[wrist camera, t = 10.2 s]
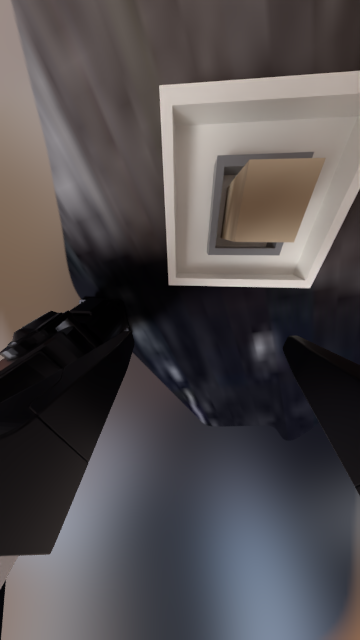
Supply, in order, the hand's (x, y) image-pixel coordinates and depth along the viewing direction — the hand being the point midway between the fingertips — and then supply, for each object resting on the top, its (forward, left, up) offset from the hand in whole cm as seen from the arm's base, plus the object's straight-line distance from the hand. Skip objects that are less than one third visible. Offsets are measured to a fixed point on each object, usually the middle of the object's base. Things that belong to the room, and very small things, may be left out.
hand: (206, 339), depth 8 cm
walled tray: (+7, -4, -12) cm, 14 cm away
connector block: (+7, -4, -11) cm, 14 cm away
